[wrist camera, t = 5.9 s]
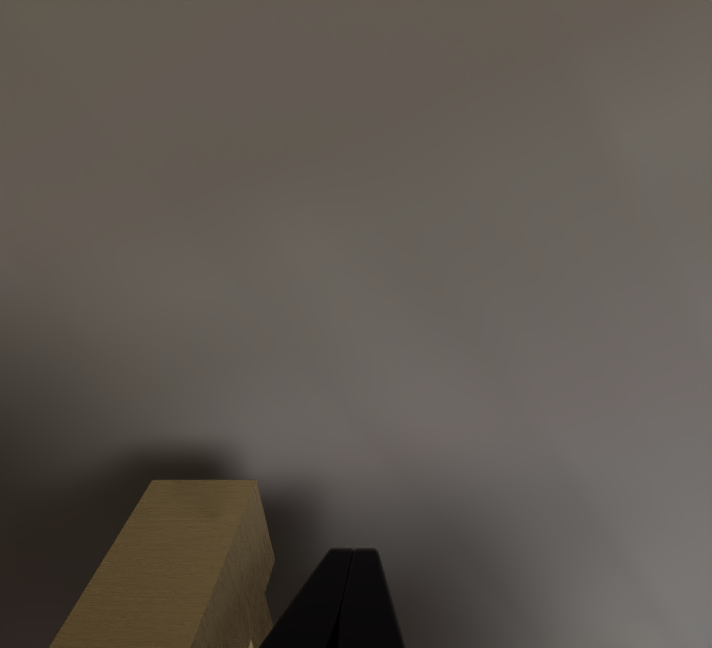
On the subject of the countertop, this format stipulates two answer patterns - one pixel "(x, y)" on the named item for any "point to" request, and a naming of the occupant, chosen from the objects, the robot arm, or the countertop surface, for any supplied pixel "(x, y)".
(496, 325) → the countertop surface
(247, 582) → the bar
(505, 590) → the countertop surface
